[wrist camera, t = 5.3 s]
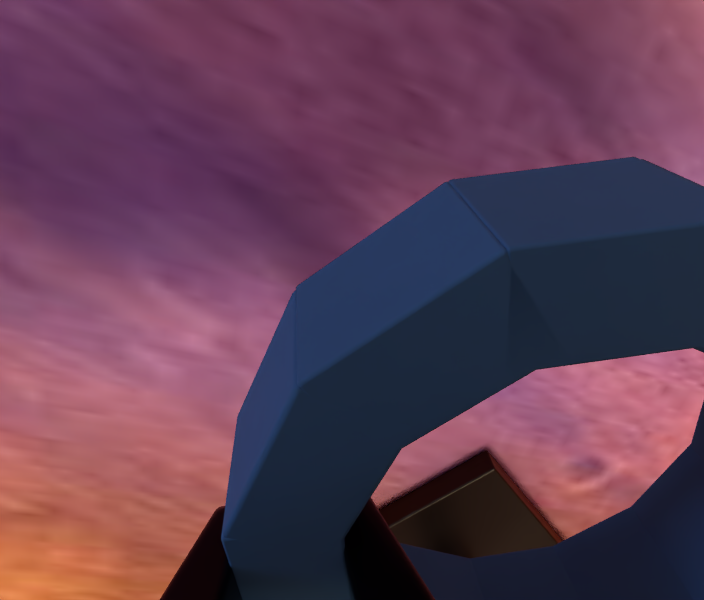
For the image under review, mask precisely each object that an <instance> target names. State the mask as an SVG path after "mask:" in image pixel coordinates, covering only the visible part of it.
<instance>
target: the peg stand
mask: <svg viewBox="0 0 704 600" xmlns="http://www.w3.org/2000/svg"><path fill="white" fill-rule="evenodd" d="M379 512H380V513H381V515H382V516H383V518H384V519H385V521H386V523H387V524H388V526H389V527H390V529H391V531H392V532H393V534H394V535H395V537H396V538H397V540H398V542H399V543H402V544H407V545H411V546H416V547H420V548H425V549H429V550H434V551H438V552H443V553H448V554H452V555H457V556H461V557H466V558H476V557H483V556H490V555H496V554H503V553H510V552H516V551H523V550H530V549H536V548H543V547H549V546H554V545H556V544H558V543H560V542H562V540H561V538H560V537H559V536H558V535H557V534H556V532H555V531H554V530H553V529H552V528H551V526H550V525H549V524H548V523H547V522H546V520H545V519H544V518H543V517H542V516H541V514H540V513H539V512H538V511H537V510H536V508H535V507H534V506H533V505H532V504H531V502H530V501H529V500H528V499H527V498H526V496H525V495H524V494H523V493H522V492H521V490H520V489H519V488H518V487H517V486H516V484H515V483H514V482H513V481H512V480H511V478H510V477H509V476H508V475H507V474H506V472H505V471H504V470H503V469H502V468H501V466H500V465H499V464H498V463H497V462H496V461H495V459H494V458H493V457H492V456H491V455H490V453H489V452H488V451H484V452H482V453H481V454H479V455H477V456H475V457H473V458H472V459H470V460H468V461H466V462H465V463H463V464H461V465H459V466H457V467H456V468H454V469H452V470H450V471H449V472H447V473H445V474H443V475H441V476H440V477H438V478H436V479H434V480H433V481H431V482H429V483H427V484H425V485H424V486H422V487H420V488H418V489H417V490H415V491H413V492H411V493H409V494H408V495H406V496H404V497H402V498H401V499H399V500H397V501H395V502H393V503H392V504H390V505H388V506H386V507H385V508H383V509H381V510H379Z"/></svg>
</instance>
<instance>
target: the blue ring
mask: <svg viewBox="0 0 704 600" xmlns="http://www.w3.org/2000/svg"><path fill="white" fill-rule="evenodd" d="M689 348H694V349H696V350H699V351H701V352H704V186H701V185H699V184H697V183H695V182H693V181H690V180H688V179H686V178H684V177H681V176H679V175H677V174H675V173H673V172H670V171H668V170H666V169H664V168H661V167H659V166H657V165H655V164H652V163H650V162H648V161H646V160H644V159H638V158H636V157H628V158H620V159H612V160H604V161H596V162H588V163H580V164H572V165H564V166H556V167H548V168H540V169H532V170H524V171H516V172H508V173H500V174H492V175H484V176H476V177H468V178H460V179H452V180H449V182H445V183H443V184H442V185H440V186H439V187H438V188H436V189H435V190H433V191H432V192H430V193H429V194H428V195H426V196H425V197H423V198H422V199H420V200H419V201H418V202H416V203H415V204H413V205H412V206H410V207H409V208H408V209H406V210H405V211H403V212H402V213H400V214H399V215H398V216H396V217H395V218H393V219H392V220H390V221H389V222H388V223H386V224H385V225H383V226H382V227H380V228H379V229H378V230H376V231H375V232H373V233H372V234H370V235H369V236H368V237H366V238H365V239H363V240H362V241H360V242H359V243H358V244H356V245H355V246H353V247H352V248H350V249H349V250H348V251H346V252H345V253H343V254H342V255H340V256H339V257H338V258H336V259H335V260H333V261H332V262H330V263H329V264H328V265H326V266H325V267H323V268H322V269H320V270H319V271H318V272H316V273H315V274H313V275H312V276H310V277H309V278H308V279H306V280H305V281H303V282H302V283H300V284H299V285H298V286H297V287H296V290H295V291H294V292H293V293H292V296H291V298H290V300H289V302H288V304H287V307H286V309H285V311H284V313H283V316H282V318H281V320H280V322H279V325H278V327H277V329H276V331H275V334H274V336H273V338H272V340H271V343H270V345H269V347H268V349H267V352H266V354H265V356H264V358H263V360H262V363H261V365H260V367H259V369H258V372H257V374H256V376H255V378H254V381H253V383H252V385H251V387H250V390H249V392H248V394H247V396H246V399H245V401H244V403H243V405H242V408H241V410H240V412H239V414H238V417H237V424H236V431H235V439H234V446H233V454H232V461H231V468H230V476H229V483H228V490H227V498H226V505H225V512H224V520H223V527H222V535H221V541H222V544H223V547H224V550H225V553H226V556H227V559H228V562H229V565H230V567H231V568H232V570H233V573H234V576H235V579H236V582H237V585H238V588H239V591H240V594H241V597H242V600H351V595H350V589H349V583H348V577H347V571H346V565H345V559H344V548H345V540H344V538H345V536H346V535H347V533H348V532H349V530H350V528H351V527H352V525H353V524H354V522H355V521H356V519H357V517H358V516H359V514H360V513H361V511H362V510H363V508H364V507H365V505H366V503H367V502H368V500H369V499H370V497H371V496H372V494H373V492H374V491H375V489H376V488H377V486H378V485H379V483H380V482H381V480H382V478H383V477H384V475H385V474H386V472H387V471H388V469H389V467H390V466H391V464H392V463H393V461H394V460H395V458H396V457H397V455H398V453H399V452H400V450H401V449H402V448H403V447H405V446H407V445H408V444H410V443H412V442H414V441H415V440H417V439H419V438H420V437H422V436H424V435H425V434H427V433H429V432H431V431H432V430H434V429H436V428H437V427H439V426H441V425H443V424H444V423H446V422H448V421H449V420H451V419H453V418H454V417H456V416H458V415H460V414H461V413H463V412H465V411H466V410H468V409H470V408H472V407H473V406H475V405H477V404H478V403H480V402H482V401H483V400H485V399H487V398H489V397H490V396H492V395H494V394H495V393H497V392H499V391H500V390H502V389H504V388H506V387H507V386H509V385H511V384H512V383H514V382H516V381H518V380H519V379H521V378H523V377H524V376H526V375H528V374H529V373H531V372H533V371H535V370H537V369H544V368H552V367H559V366H566V365H573V364H581V363H588V362H595V361H602V360H609V359H617V358H624V357H631V356H638V355H646V354H653V353H660V352H667V351H674V350H682V349H689ZM400 545H401V546H402V548H403V549H404V551H405V553H406V554H407V556H408V557H409V559H410V561H411V562H412V564H413V565H414V567H415V568H416V570H417V572H418V573H419V575H420V576H421V578H422V580H423V581H424V583H425V584H426V586H427V587H428V589H429V591H430V592H431V594H432V595H433V597H434V598H435V600H704V402H703V405H702V408H701V412H700V415H699V419H698V422H697V426H696V429H695V432H694V436H693V439H692V443H691V444H690V445H689V446H688V447H687V449H686V450H685V451H684V452H683V453H682V454H681V455H680V456H679V457H678V458H677V459H676V460H675V461H674V462H673V463H672V464H671V465H670V466H669V467H668V469H667V470H666V471H665V472H664V473H663V474H662V475H661V476H660V477H659V478H658V479H657V480H656V481H655V482H654V483H653V484H652V485H651V486H650V487H649V489H648V490H647V491H646V492H645V493H644V494H643V495H642V496H641V497H640V498H639V499H638V500H637V501H636V502H635V503H634V504H633V505H632V506H631V507H630V508H628V509H626V510H624V511H622V512H620V513H618V514H616V515H614V516H612V517H610V518H608V519H606V520H604V521H602V522H600V523H598V524H596V525H594V526H592V527H590V528H588V529H586V530H584V531H582V532H580V533H578V534H576V535H574V536H572V537H570V538H568V539H566V540H564V541H562V542H560V543H558V544H556V545H554V546H549V547H543V548H536V549H530V550H523V551H516V552H510V553H503V554H496V555H490V556H483V557H476V558H466V557H461V556H457V555H452V554H448V553H443V552H438V551H434V550H429V549H425V548H420V547H416V546H411V545H407V544H402V543H400Z"/></svg>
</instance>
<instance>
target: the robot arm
mask: <svg viewBox="0 0 704 600" xmlns="http://www.w3.org/2000/svg"><path fill="white" fill-rule="evenodd" d="M224 512H225V506H221V507H219V508H218V509H216V511H215V512H214V514H213V515H212V517H211V518H210V520H209V522H208V523H207V525H206V526H205V528H204V530H203V531H202V533H201V534H200V536H199V538H198V539H197V541H196V542H195V544H194V546H193V547H192V549H191V550H190V552H189V554H188V555H187V557H186V558H185V560H184V562H183V563H182V565H181V566H180V568H179V570H178V571H177V573H176V574H175V576H174V578H173V579H172V581H171V582H170V584H169V586H168V587H167V589H166V590H165V592H164V594H163V595H162V597H161V598H160V600H242V597H241V594H240V591H239V588H238V585H237V582H236V579H235V576H234V573H233V570H232V568H231V567H230V565H229V562H228V559H227V556H226V553H225V550H224V547H223V544H222V541H221V535H222V527H223V520H224ZM344 540H345V548H344V559H345V565H346V571H347V577H348V583H349V589H350V595H351V600H435V598H434V597H433V595H432V594H431V592H430V591H429V589H428V587H427V586H426V584H425V583H424V581H423V580H422V578H421V576H420V575H419V573H418V572H417V570H416V568H415V567H414V565H413V564H412V562H411V561H410V559H409V557H408V556H407V554H406V553H405V551H404V549H403V548H402V546H401V545H400V543H399V542H398V540H397V538H396V537H395V535H394V534H393V532H392V531H391V529H390V527H389V526H388V524H387V523H386V521H385V519H384V518H383V516H382V515H381V513H380V512H379V510H378V508H377V507H376V505H375V504H374V502H373V500H372V499H371V497H370V499H369V500H368V502H367V503H366V505H365V507H364V508H363V510H362V511H361V513H360V514H359V516H358V517H357V519H356V521H355V522H354V524H353V525H352V527H351V528H350V530H349V532H348V533H347V535H346V536H345V538H344Z"/></svg>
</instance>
